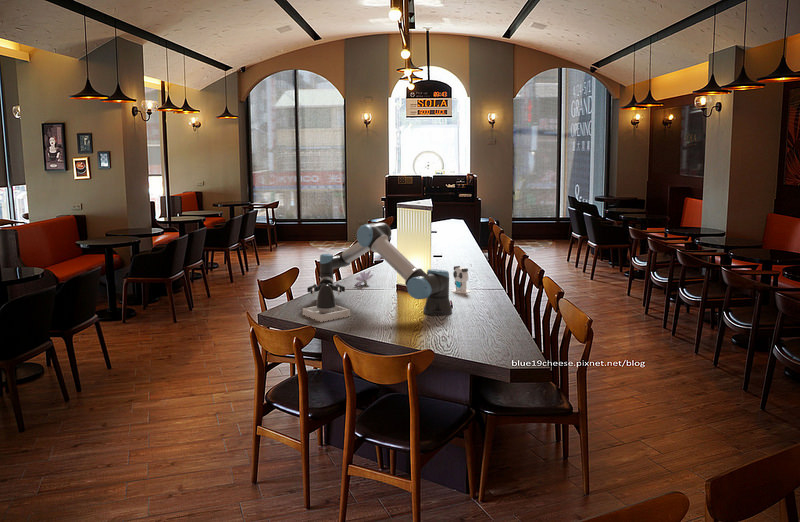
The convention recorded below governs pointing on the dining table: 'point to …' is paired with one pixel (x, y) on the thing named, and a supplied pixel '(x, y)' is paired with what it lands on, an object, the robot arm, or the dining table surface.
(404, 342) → the dining table surface
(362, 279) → the water lily
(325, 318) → the tray
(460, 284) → the panda figurine
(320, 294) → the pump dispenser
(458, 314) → the dining table surface
